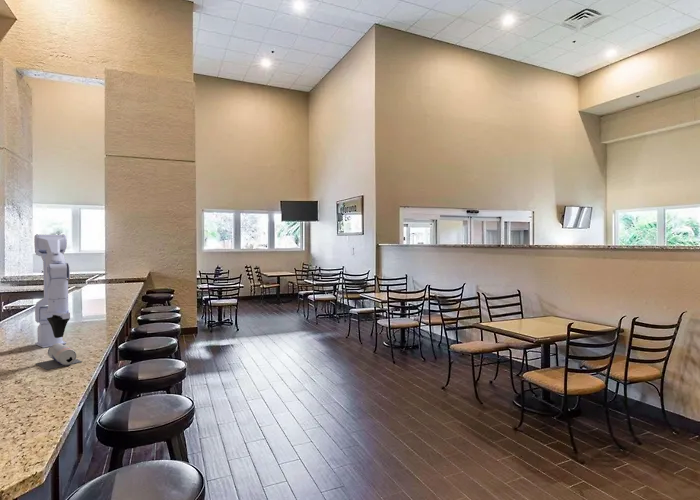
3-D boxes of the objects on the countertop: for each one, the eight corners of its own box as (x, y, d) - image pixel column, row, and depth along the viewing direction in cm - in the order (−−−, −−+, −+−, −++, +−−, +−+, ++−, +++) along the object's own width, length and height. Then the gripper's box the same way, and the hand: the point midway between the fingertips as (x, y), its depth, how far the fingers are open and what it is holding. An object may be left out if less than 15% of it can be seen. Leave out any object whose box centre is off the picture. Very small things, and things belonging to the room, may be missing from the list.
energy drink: (53, 361, 139) (64, 368, 132) (43, 350, 137) (54, 356, 129) (68, 351, 143) (80, 357, 135) (59, 339, 140) (71, 345, 133)
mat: (35, 364, 134) (35, 363, 134) (70, 357, 142) (70, 356, 142) (46, 369, 128) (46, 368, 128) (82, 362, 137) (81, 361, 137)
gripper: (36, 297, 140) (37, 336, 140) (52, 301, 131) (53, 342, 132) (60, 295, 145) (60, 332, 146) (76, 299, 137) (77, 338, 137)
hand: (58, 337), depth 139 cm, fingers closed
